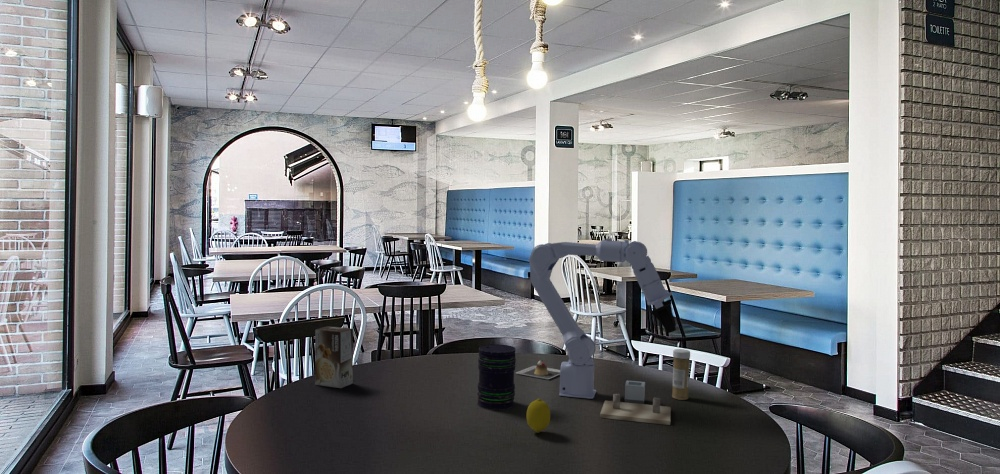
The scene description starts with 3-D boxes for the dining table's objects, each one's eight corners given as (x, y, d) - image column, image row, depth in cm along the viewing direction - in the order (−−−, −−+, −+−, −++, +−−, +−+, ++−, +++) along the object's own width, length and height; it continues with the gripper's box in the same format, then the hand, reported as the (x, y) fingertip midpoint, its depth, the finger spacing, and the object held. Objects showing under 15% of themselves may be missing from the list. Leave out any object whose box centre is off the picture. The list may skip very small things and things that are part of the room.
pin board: (599, 417, 163) (600, 399, 163) (604, 404, 175) (605, 387, 175) (670, 425, 159) (670, 406, 159) (670, 410, 171) (671, 393, 170)
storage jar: (520, 402, 175) (522, 346, 174) (505, 412, 166) (506, 353, 165) (487, 396, 179) (488, 342, 178) (470, 406, 170) (471, 349, 169)
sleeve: (624, 403, 176) (625, 385, 176) (625, 398, 181) (626, 380, 181) (643, 405, 175) (644, 386, 175) (644, 400, 180) (644, 382, 179)
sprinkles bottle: (692, 399, 182) (693, 351, 181) (680, 401, 179) (682, 352, 179) (679, 394, 186) (680, 347, 185) (668, 397, 183) (669, 349, 183)
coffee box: (353, 383, 189) (354, 328, 188) (340, 389, 183) (341, 332, 182) (327, 379, 192) (328, 325, 192) (313, 384, 187) (314, 329, 186)
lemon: (524, 428, 154) (525, 395, 153) (547, 428, 154) (548, 395, 154) (527, 437, 148) (528, 402, 148) (551, 437, 149) (552, 402, 148)
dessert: (566, 374, 208) (567, 359, 208) (549, 382, 198) (549, 366, 198) (534, 368, 214) (534, 354, 214) (515, 376, 204) (515, 360, 204)
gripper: (663, 278, 169) (686, 327, 167) (664, 275, 183) (686, 320, 181) (638, 290, 170) (661, 338, 169) (641, 285, 184) (662, 329, 183)
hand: (672, 329), depth 175 cm, fingers open, 7 cm apart
